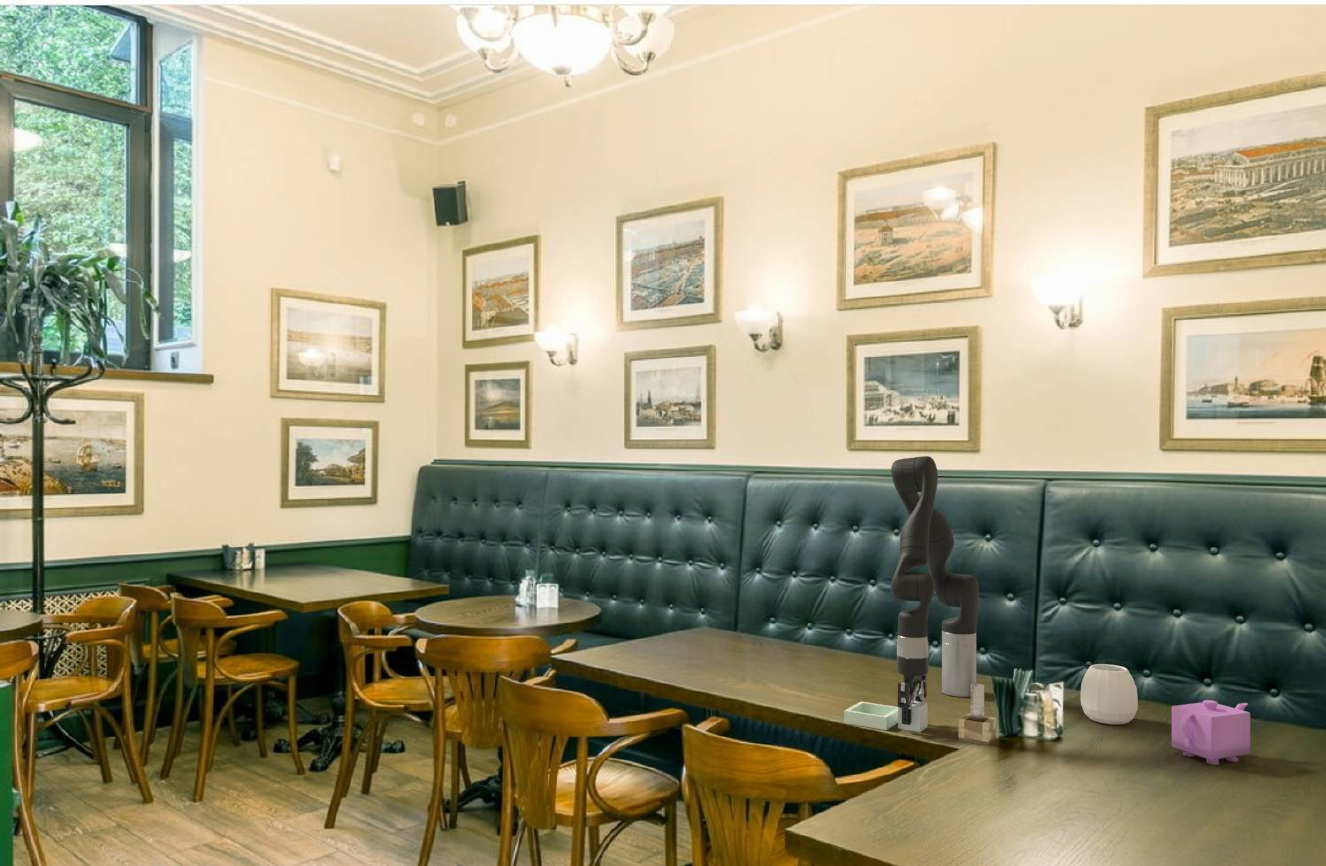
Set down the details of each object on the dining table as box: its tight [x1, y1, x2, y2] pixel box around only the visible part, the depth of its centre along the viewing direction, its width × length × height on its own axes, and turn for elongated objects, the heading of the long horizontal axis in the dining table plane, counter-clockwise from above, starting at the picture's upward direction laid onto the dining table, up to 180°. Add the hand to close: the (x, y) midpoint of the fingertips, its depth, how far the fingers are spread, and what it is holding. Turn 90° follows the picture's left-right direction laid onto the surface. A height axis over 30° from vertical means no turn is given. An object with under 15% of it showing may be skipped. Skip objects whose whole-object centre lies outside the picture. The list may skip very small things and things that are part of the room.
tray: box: [843, 701, 898, 731], centre depth 249 cm, size 11×11×3 cm
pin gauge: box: [970, 682, 985, 722], centre depth 235 cm, size 3×3×12 cm
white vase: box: [1080, 663, 1139, 725], centre depth 251 cm, size 13×13×14 cm
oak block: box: [958, 713, 997, 746], centre depth 235 cm, size 7×7×5 cm
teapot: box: [1171, 699, 1251, 766], centre depth 223 cm, size 20×10×12 cm, turn 112°
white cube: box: [897, 700, 929, 733], centre depth 244 cm, size 6×6×6 cm
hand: (912, 720), depth 244 cm, fingers open, 8 cm apart
